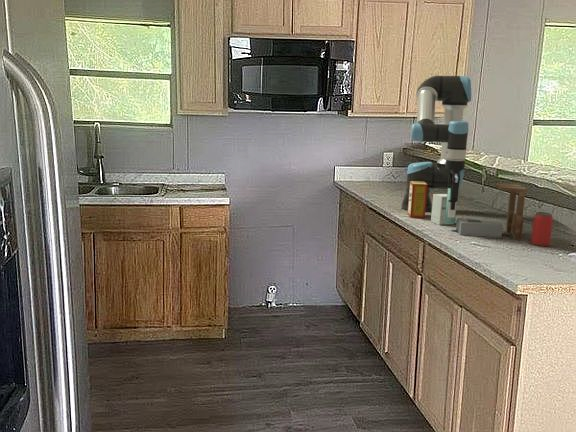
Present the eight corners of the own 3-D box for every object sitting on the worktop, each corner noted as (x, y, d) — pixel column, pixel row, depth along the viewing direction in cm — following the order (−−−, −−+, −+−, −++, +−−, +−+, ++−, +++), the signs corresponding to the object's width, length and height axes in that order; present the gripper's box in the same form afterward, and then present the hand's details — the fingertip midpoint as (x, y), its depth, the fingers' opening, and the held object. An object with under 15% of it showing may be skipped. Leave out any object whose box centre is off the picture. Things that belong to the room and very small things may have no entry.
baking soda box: (424, 218, 254) (427, 183, 251) (410, 217, 255) (412, 183, 251) (421, 214, 263) (424, 180, 260) (407, 213, 264) (410, 180, 261)
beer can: (533, 241, 215) (537, 211, 212) (551, 244, 211) (555, 213, 208) (528, 244, 210) (532, 213, 207) (546, 247, 206) (550, 215, 203)
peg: (444, 220, 233) (447, 187, 230) (454, 221, 232) (457, 188, 229) (445, 222, 229) (448, 189, 226) (455, 223, 228) (458, 189, 225)
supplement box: (439, 225, 240) (441, 196, 237) (430, 221, 247) (432, 193, 244) (454, 224, 242) (456, 196, 239) (445, 221, 249) (447, 193, 246)
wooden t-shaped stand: (489, 230, 232) (494, 183, 228) (511, 231, 231) (517, 184, 227) (497, 238, 219) (502, 187, 215) (521, 239, 218) (527, 188, 214)
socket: (456, 229, 232) (457, 217, 231) (495, 231, 230) (496, 219, 229) (460, 234, 222) (461, 222, 221) (501, 237, 220) (502, 224, 219)
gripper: (443, 157, 233) (438, 211, 238) (449, 161, 217) (444, 220, 222) (461, 157, 232) (456, 212, 238) (469, 162, 216) (463, 221, 221)
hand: (450, 215), depth 230 cm, fingers closed on peg, 4 cm apart
